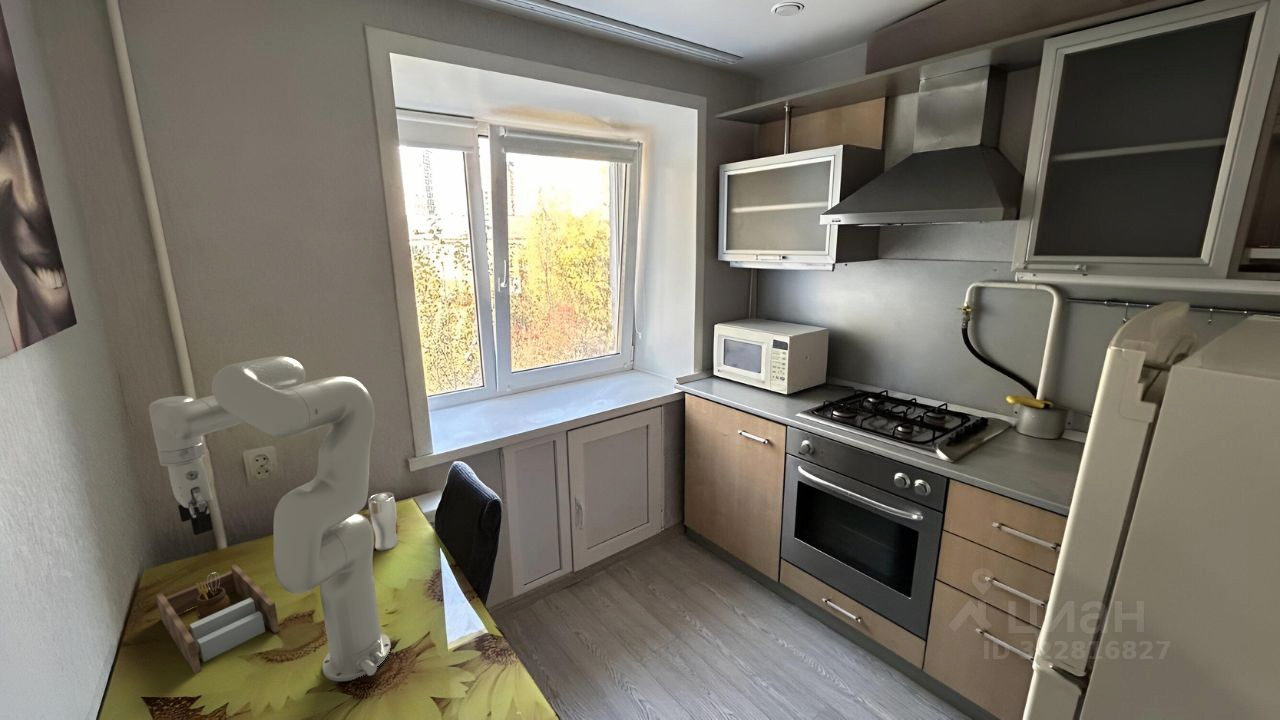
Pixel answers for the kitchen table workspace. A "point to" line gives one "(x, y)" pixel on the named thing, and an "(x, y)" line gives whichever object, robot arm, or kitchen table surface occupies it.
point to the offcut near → (221, 619)
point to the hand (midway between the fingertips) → (196, 525)
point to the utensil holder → (211, 600)
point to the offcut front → (230, 636)
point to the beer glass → (383, 520)
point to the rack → (188, 599)
